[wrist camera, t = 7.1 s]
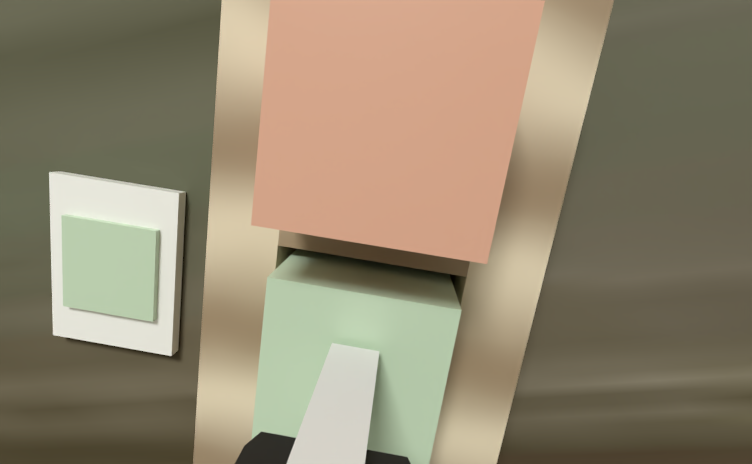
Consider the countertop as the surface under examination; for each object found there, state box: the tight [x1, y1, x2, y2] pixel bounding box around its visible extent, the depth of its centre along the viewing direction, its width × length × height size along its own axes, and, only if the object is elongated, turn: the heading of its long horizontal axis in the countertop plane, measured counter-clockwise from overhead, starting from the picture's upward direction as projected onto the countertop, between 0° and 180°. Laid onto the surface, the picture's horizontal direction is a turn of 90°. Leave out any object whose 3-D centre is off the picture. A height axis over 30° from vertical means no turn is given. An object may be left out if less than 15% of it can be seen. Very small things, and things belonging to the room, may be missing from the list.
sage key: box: [251, 249, 462, 464], centre depth 15 cm, size 6×6×5 cm
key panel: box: [193, 0, 614, 464], centre depth 17 cm, size 26×12×4 cm, turn 171°
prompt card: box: [49, 171, 186, 356], centre depth 19 cm, size 8×6×1 cm
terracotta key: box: [251, 0, 545, 264], centre depth 12 cm, size 6×6×5 cm
